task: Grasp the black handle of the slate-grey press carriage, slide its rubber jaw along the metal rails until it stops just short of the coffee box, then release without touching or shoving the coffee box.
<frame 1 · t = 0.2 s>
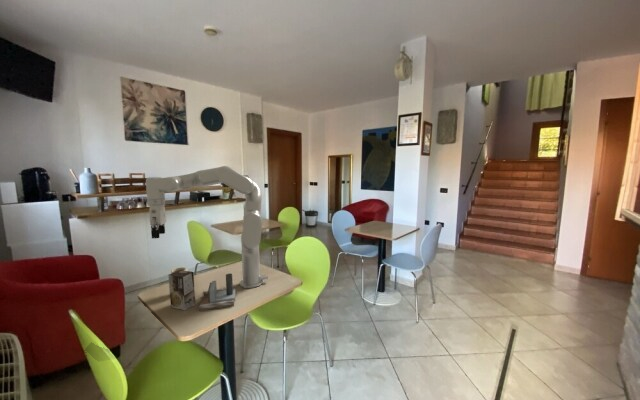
hand: (158, 235, 131), 31 cm above the table, fingers open, 9 cm apart
character mug: (180, 294, 136), on the table
press bed: (218, 301, 128), on the table
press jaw: (222, 286, 128), point 7 cm above the table, slide at -5.5 cm
coffee box: (183, 306, 123), on the table
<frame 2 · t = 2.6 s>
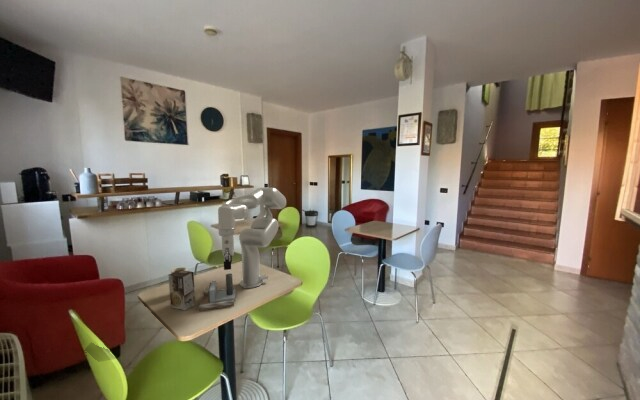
hand: (228, 266, 127), 17 cm above the table, fingers open, 9 cm apart
nothing on the table moved.
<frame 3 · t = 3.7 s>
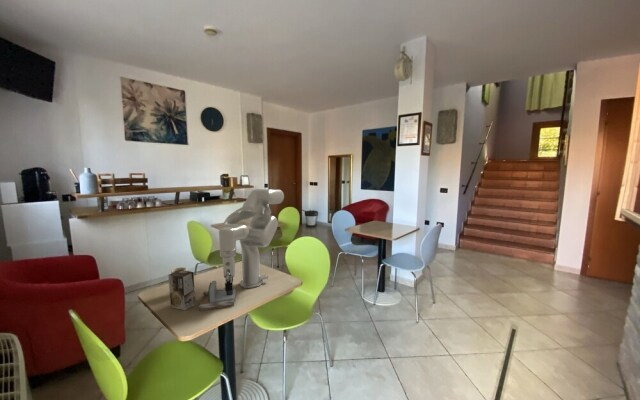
hand: (229, 286, 129), 7 cm above the table, fingers open, 9 cm apart
nothing on the table moved.
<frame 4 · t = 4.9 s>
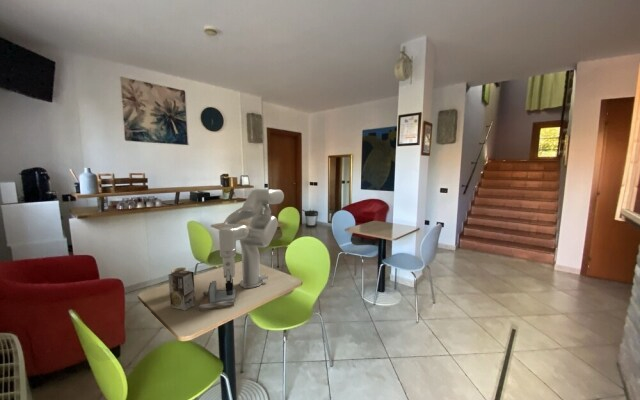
hand: (229, 288, 129), 6 cm above the table, fingers closed on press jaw, 3 cm apart
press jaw: (222, 286, 128), point 7 cm above the table, slide at -5.5 cm, touching gripper
everything else where it was.
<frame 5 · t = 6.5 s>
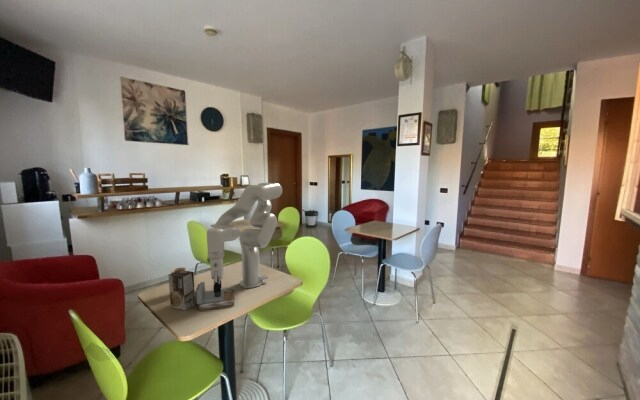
hand: (217, 289, 127), 6 cm above the table, fingers closed on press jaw, 3 cm apart
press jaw: (210, 288, 126), point 7 cm above the table, slide at 0.0 cm, touching gripper
everything else where it was.
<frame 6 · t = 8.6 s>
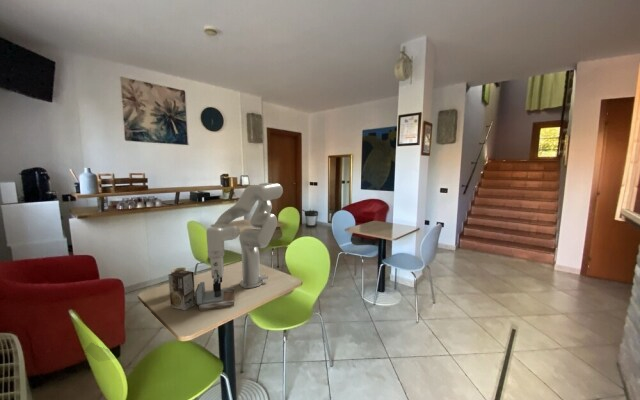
hand: (218, 286, 127), 7 cm above the table, fingers open, 9 cm apart
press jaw: (210, 288, 126), point 7 cm above the table, slide at 0.0 cm
everything else where it was.
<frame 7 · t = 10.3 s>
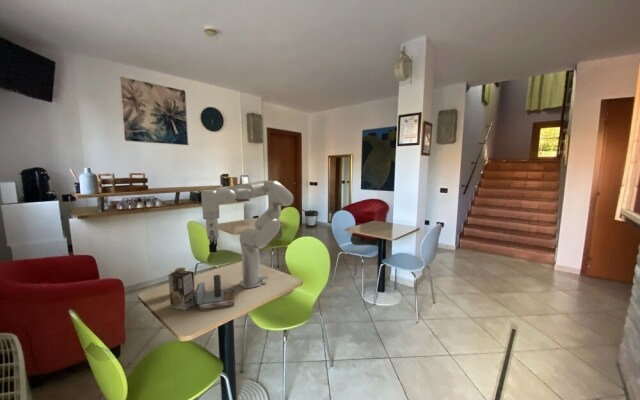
hand: (213, 249, 129), 25 cm above the table, fingers open, 9 cm apart
nothing on the table moved.
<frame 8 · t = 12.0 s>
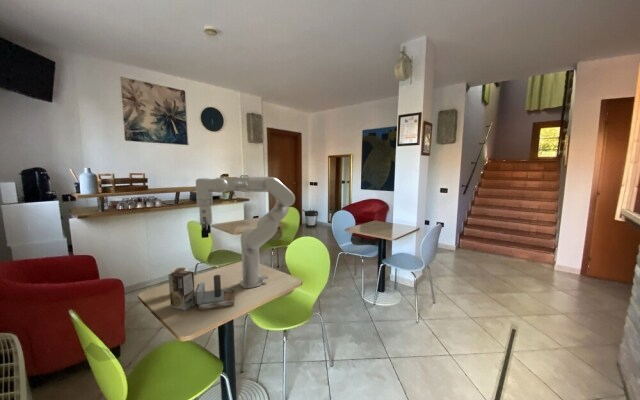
hand: (206, 235, 135), 30 cm above the table, fingers open, 9 cm apart
nothing on the table moved.
at the end: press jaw slide at 0.0 cm; coffee box moved 0.2 cm from its start; coffee box tilted 0° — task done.
